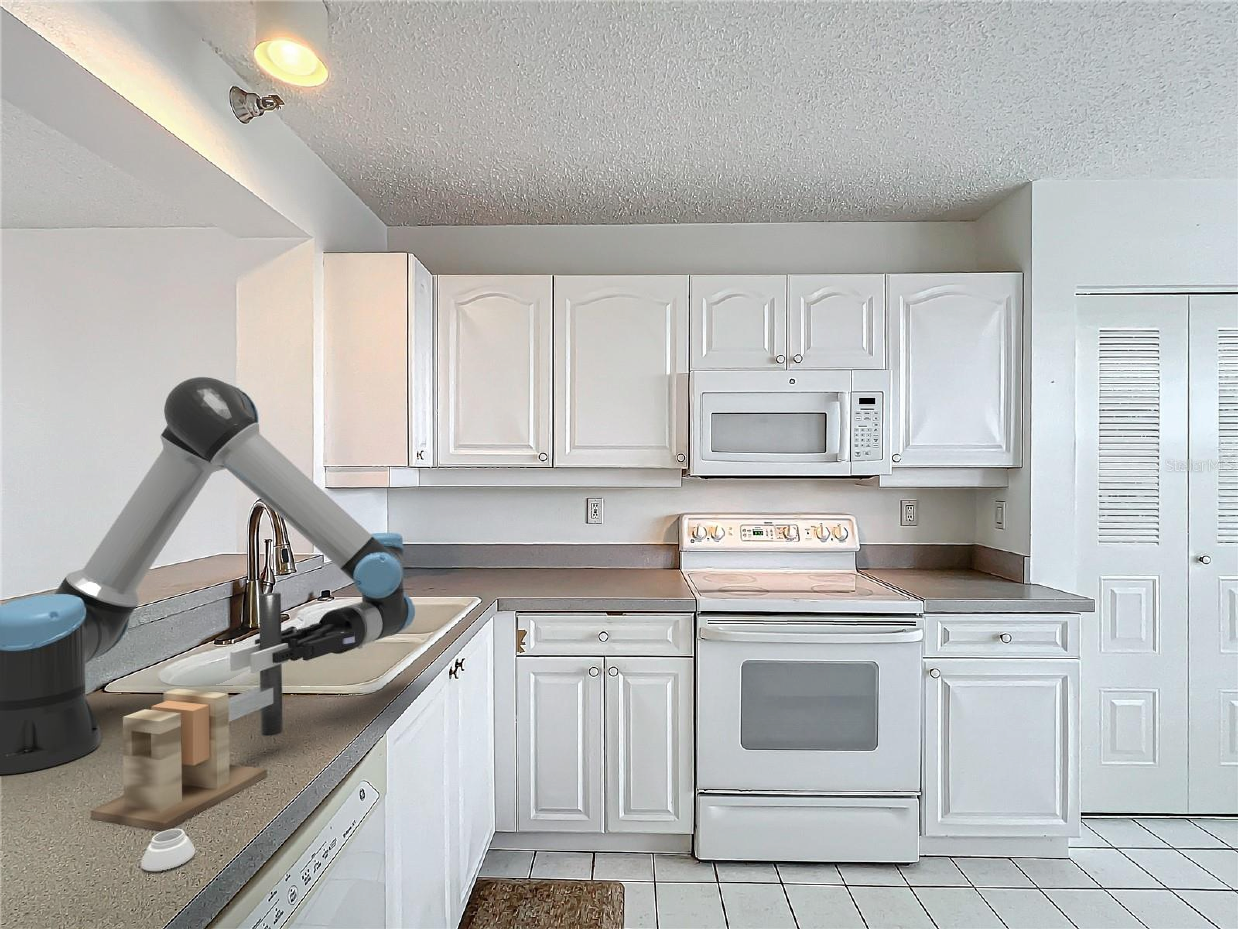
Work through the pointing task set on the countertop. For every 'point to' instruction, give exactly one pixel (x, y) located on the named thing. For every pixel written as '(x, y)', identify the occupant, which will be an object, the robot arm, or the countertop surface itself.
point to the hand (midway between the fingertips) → (242, 662)
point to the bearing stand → (174, 767)
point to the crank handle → (264, 673)
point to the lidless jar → (167, 851)
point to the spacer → (191, 729)
